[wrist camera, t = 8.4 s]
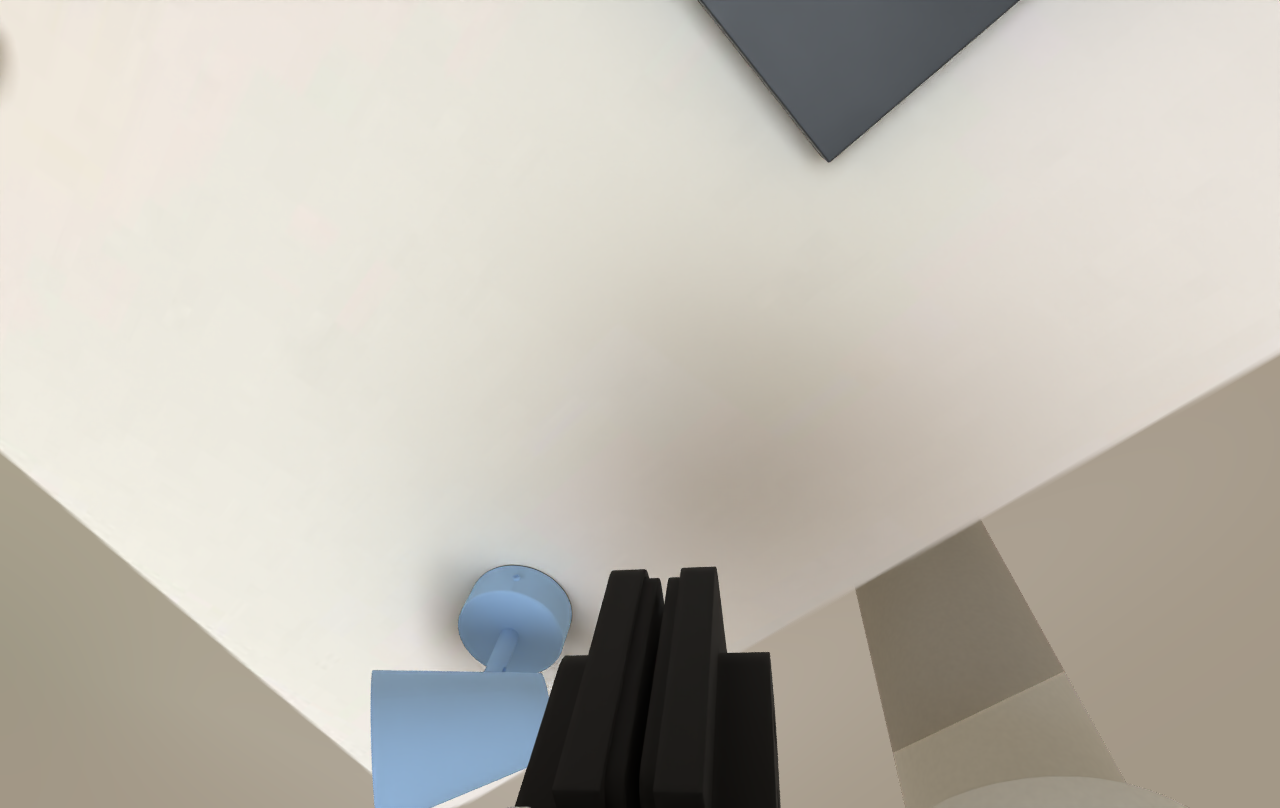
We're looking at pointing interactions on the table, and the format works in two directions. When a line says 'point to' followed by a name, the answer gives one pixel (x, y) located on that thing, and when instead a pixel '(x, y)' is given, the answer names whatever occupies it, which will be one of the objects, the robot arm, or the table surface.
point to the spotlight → (470, 696)
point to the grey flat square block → (848, 54)
